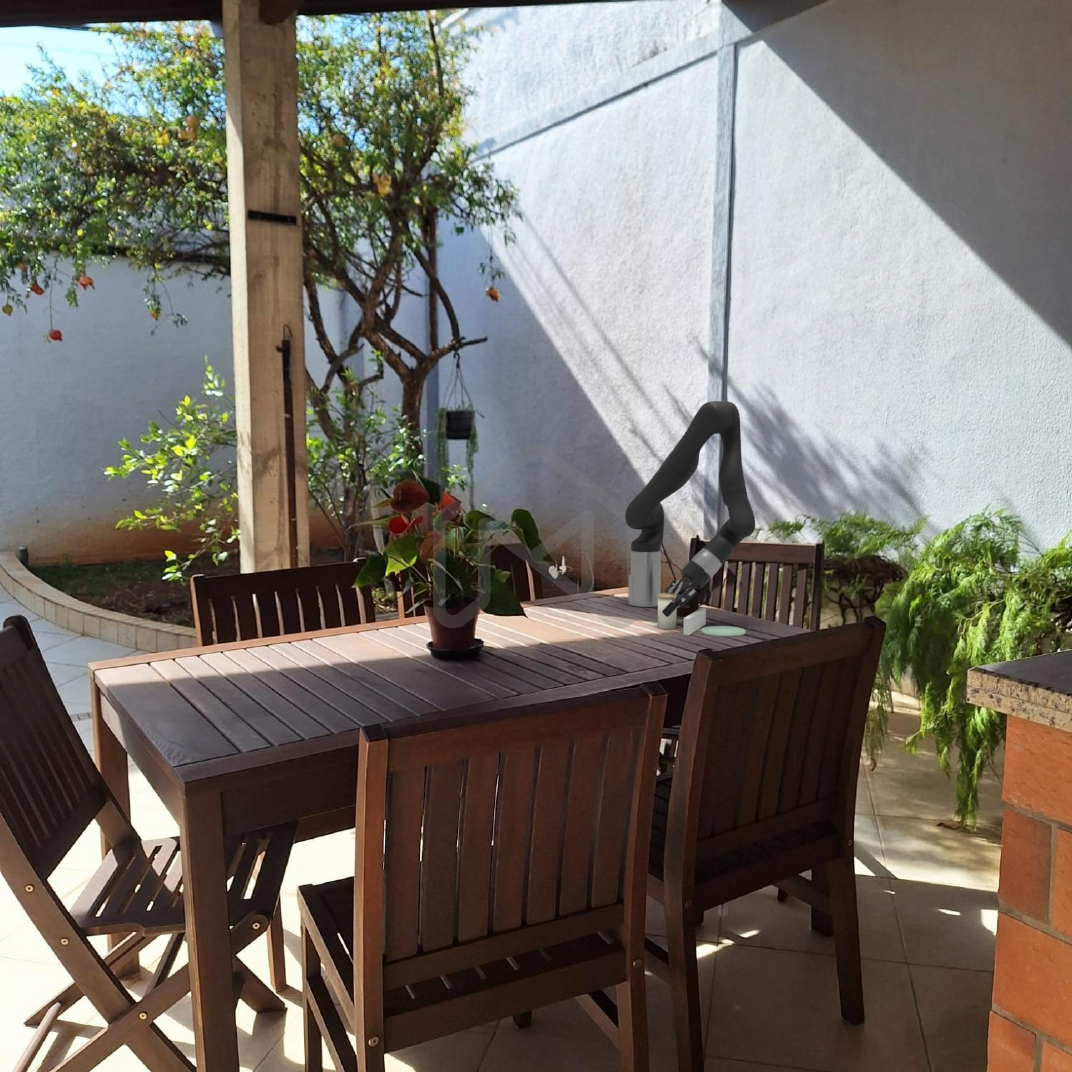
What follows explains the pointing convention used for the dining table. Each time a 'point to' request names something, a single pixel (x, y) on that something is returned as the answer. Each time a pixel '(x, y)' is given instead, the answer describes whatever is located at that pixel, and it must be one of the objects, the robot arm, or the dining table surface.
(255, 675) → the dining table surface
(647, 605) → the robot arm
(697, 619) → the grey wall
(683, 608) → the coffee mug
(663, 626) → the cream jar
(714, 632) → the sage pad
